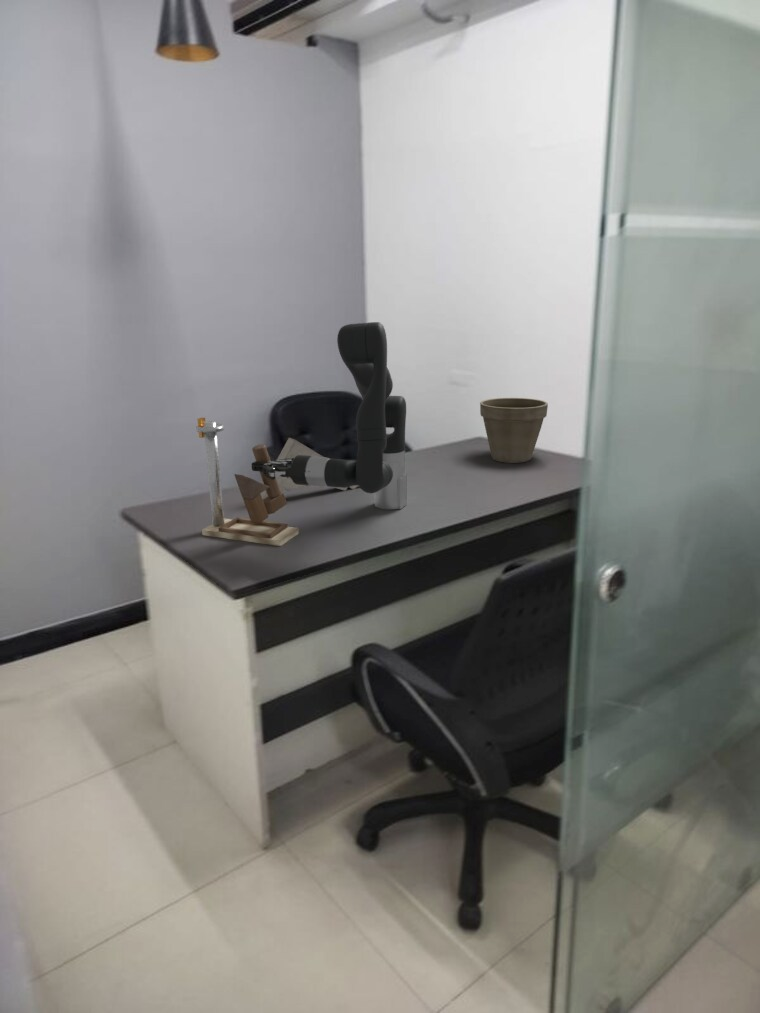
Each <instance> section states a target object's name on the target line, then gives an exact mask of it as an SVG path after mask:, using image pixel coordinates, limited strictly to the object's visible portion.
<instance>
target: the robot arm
mask: <svg viewBox="0 0 760 1013" xmlns="http://www.w3.org/2000/svg"><path fill="white" fill-rule="evenodd" d="M336 342H337V349H338V353H339V355H340V357H341V360H342V361H343V363H344V365H345V366H346V368H347V369H348V370H349V372H350V373H351V375H352V378H353V380H354V382H355V385H356V388H357V390H358V392H359V394H360V396H361V398H362V401H361V403H360V405H359V407H358V410H357V411H356V412H357V413H356V418H355V425H356V438H357V446H358V447H357V454H356V459H343V458H342V459H341V458H329V457H326V456H325V457H324V456H323V457H319V456H306V455H297V456H296V457H295V458H290V459H279V460H277V459H272V461H271V460H270V461H268V462H258V461H256V460H254V461H253V462H252V463H251V470H252V471H253V472H260V471H261V472H263V475H264V476H266V477H268V478H269V479H272V480H274V479H275V476H278V477H281V478H288V477H291V479H292V481H293V482H294V483H295V484H297V485H307V486H306V487H320V488H321V487H324V488H325V487H330V488H335V487H341V488H345V487H348V488H349V487H350V486H354V485H358V487H359V488H360V490H361V491H362V492H365V493H367V494H374V499H373V500H374V506H375V507H376V508H378V509H381V510H401V509H403V508H404V507H405V506H406V505H407V504H408V474H407V473H406V423H407V420H406V419H407V402H406V399H405V398H404V396H401V395H391V393H392V391H393V387H394V384H393V379H392V376H391V373H390V369H388V367H387V366H388V340H387V333H386V329H385V326H384V325H383V323H381V322H380V321H376V322H375V321H373V322H361V323H359V322H358V323H349V324H345V325H343V326H341V328H339V330H338V333H337V340H336ZM387 428H388V429H389V428H390V429H391V428H393V432H392V433H389V434H388V435H387Z"/></svg>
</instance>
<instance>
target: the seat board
mask: <svg viewBox="0 0 760 1013" xmlns="http://www.w3.org/2000/svg"><path fill="white" fill-rule="evenodd" d="M224 523H225V524H224V525H223V526H220V527H215V526H213V523H211V524H210V525H208V526H206V527H204V528H202V530H201V533H202V536H207V537H212V538H213V537H215V538H222V539H228V540H235V541H243V542H249V543H256V544H257V543H258V544H262V545H263V544H264V545H270V546H278V547H281V546H283V545H285V544H286V543H287V542H289V541H290V540H291V539H293V538H294V537H296V536H297V535H298V534H300V532H299V531H300V530H299V527H294V526H293V527H292V526H288V525H289V524H288V523H285V522H284V523H283V522H275V521H267V520H263V521H262V522H261V523H256V522H252V521H251V520H250V518H244V517H235V518H233V519H231V518H224Z"/></svg>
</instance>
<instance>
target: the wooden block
mask: <svg viewBox="0 0 760 1013" xmlns="http://www.w3.org/2000/svg"><path fill="white" fill-rule="evenodd" d="M252 453H253V456H254V459H255V461H258V462H268V461H271V458H270V454H269V451H268V448H267V446H266V445H265V444H262V443H261V444H257V445H255V446H253V447H252ZM259 474H260V477H261V479H262V482H260V481H258V480H255V479H253V478H250V477H248V476H246V475H243V474H238V473H234V478H235V480H236V482H237V486H238V489H239V492H240V494H241V497H242V500H243V502H244V505H245V508H246V511H247V514H248V517H249V519H250V520H251V521H252V522H256V523H261V522H262V521H266V519H268V518H269V515H271V514H274V513H276V512H277V511H279V510H281V509H282V508H283V507H284V506H286V505H287V504H288V503H287V499H286V496H285V494H284V492H282V491H281V492H280V489H279V486H278V482H277V479H276V476H275V479H274V480H272V479H269V478H268V477H266V476H264V475H263V472H261V471H259ZM265 490H266V492H267V495H268V496H267V497H266V498H264V499H262V496H261V494H260V493H262V492H263V491H265Z"/></svg>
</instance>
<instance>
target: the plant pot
mask: <svg viewBox="0 0 760 1013" xmlns="http://www.w3.org/2000/svg"><path fill="white" fill-rule="evenodd" d="M479 405H480V410H479V411H480V416H481V417H482V418H483V424H484V427H485V434H486V436H487V442H488V445H489V451H490V455H491V458H492V459H493V460H494V461H496V462H500V463H508V464H518V463H525V462H529V461H530V460H531V459H532V457H533V454H534V451H535V448H536V445H537V442H538V439H539V436H540V432H541V429H542V426H543V423H544V419H545V418H546V417H547V414H548V408H549V407H548V405H549V404H548V402H547V401H545V400H541V399H536V398H527V397H526V398H525V397H500V398H499V397H498V398H489V399H485V400H482V401H480V402H479Z"/></svg>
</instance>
